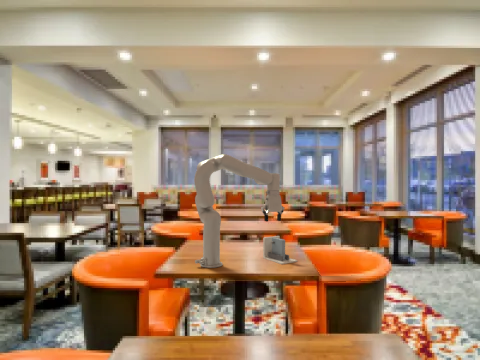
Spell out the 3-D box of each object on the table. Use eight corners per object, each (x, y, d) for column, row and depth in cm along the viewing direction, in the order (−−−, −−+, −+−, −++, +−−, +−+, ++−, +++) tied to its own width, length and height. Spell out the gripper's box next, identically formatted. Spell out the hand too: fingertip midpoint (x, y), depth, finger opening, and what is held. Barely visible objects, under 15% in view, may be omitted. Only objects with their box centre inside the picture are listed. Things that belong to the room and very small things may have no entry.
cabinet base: (281, 264, 181) (281, 242, 181) (263, 258, 196) (263, 237, 196) (297, 261, 187) (297, 240, 187) (278, 255, 202) (278, 235, 202)
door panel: (280, 260, 185) (280, 240, 185) (270, 257, 194) (270, 238, 194) (285, 260, 187) (285, 240, 187) (274, 256, 196) (275, 237, 196)
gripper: (265, 193, 186) (264, 222, 185) (288, 193, 194) (287, 221, 194) (258, 193, 192) (257, 220, 192) (280, 193, 201) (280, 219, 201)
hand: (272, 221), depth 193 cm, fingers open, 9 cm apart
